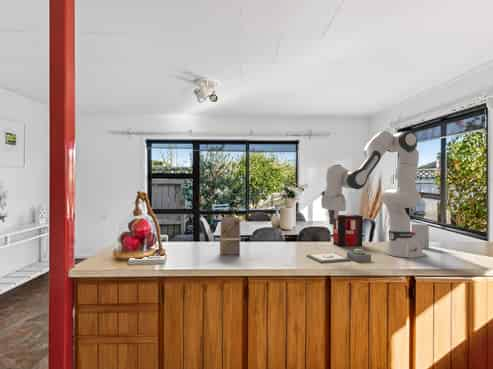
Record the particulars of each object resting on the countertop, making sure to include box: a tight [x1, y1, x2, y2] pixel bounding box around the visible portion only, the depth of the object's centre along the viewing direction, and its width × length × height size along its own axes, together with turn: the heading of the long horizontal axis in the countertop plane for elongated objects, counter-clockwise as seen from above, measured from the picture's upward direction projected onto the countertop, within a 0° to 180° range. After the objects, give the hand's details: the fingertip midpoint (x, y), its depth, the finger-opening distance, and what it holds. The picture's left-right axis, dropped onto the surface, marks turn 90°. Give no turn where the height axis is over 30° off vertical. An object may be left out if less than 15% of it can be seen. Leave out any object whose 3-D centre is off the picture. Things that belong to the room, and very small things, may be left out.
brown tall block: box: [219, 211, 241, 257], centre depth 199 cm, size 8×12×26 cm
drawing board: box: [306, 252, 351, 264], centre depth 192 cm, size 18×16×1 cm
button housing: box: [346, 251, 372, 263], centre depth 189 cm, size 9×9×4 cm
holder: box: [128, 255, 167, 265], centre depth 200 cm, size 45×18×3 cm, turn 7°
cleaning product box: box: [332, 214, 363, 248], centre depth 231 cm, size 16×9×20 cm, turn 98°
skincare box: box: [411, 222, 430, 250], centre depth 225 cm, size 8×7×16 cm
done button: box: [353, 248, 364, 255], centre depth 189 cm, size 5×5×3 cm
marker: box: [328, 207, 336, 225], centre depth 194 cm, size 4×4×10 cm
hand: (332, 217), depth 194 cm, fingers closed on marker, 3 cm apart
